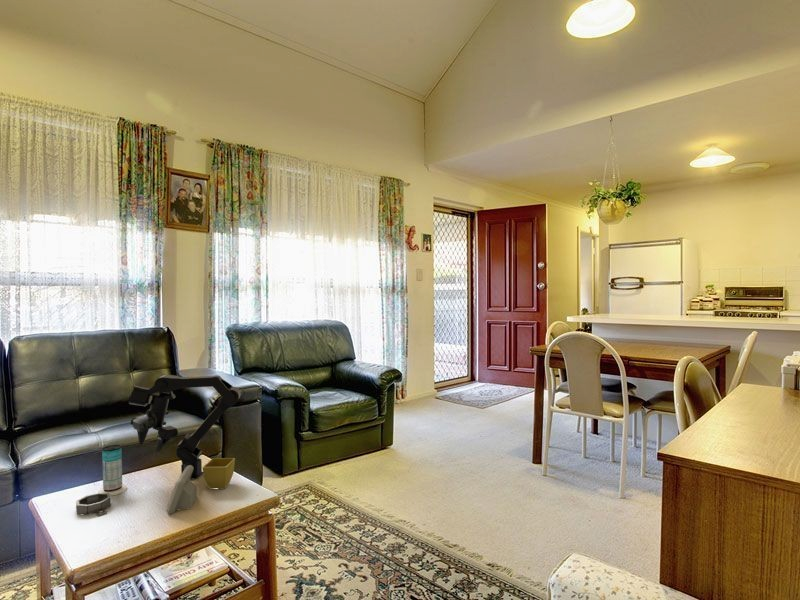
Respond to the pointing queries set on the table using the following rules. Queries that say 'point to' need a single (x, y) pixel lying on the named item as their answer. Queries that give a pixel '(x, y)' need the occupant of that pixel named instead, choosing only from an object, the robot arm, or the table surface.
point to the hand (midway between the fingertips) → (149, 448)
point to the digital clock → (183, 492)
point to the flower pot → (218, 472)
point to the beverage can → (112, 468)
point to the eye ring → (94, 504)
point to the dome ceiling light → (114, 491)
